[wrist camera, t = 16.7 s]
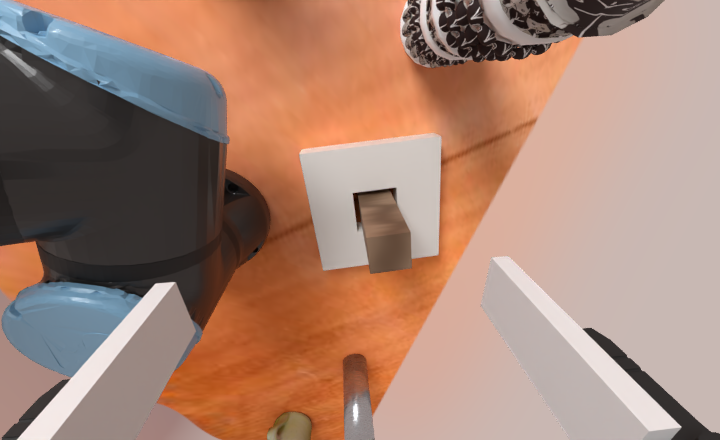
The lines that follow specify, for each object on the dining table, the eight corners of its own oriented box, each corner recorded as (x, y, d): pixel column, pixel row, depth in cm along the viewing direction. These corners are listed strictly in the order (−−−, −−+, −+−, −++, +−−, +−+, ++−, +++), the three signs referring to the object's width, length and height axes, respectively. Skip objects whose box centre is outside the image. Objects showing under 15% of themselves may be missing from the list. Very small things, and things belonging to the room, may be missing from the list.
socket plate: (323, 259, 45) (323, 270, 42) (301, 149, 37) (299, 154, 34) (432, 245, 45) (438, 255, 43) (433, 132, 37) (441, 136, 35)
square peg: (360, 217, 42) (370, 273, 30) (356, 189, 40) (366, 238, 28) (389, 213, 42) (411, 268, 30) (387, 186, 40) (410, 232, 28)
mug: (324, 438, 65) (305, 489, 56) (286, 431, 68) (262, 477, 59) (315, 398, 62) (294, 444, 53) (275, 392, 65) (249, 435, 56)
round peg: (344, 371, 58) (346, 450, 45) (341, 355, 55) (342, 434, 43) (367, 367, 58) (375, 446, 45) (364, 352, 56) (373, 430, 43)
